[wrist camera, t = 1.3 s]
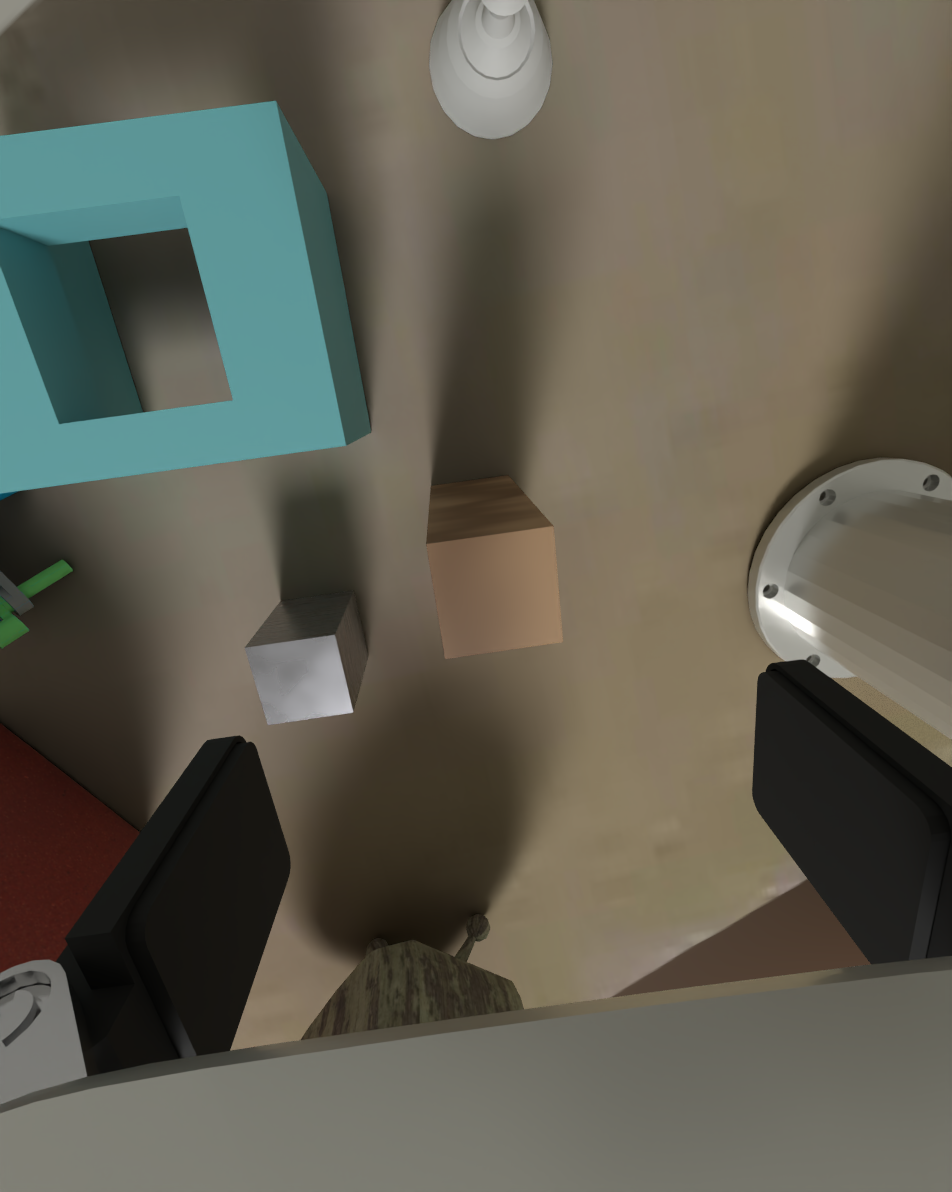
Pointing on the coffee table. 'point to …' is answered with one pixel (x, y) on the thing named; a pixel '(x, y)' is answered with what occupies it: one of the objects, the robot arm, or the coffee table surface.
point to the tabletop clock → (414, 988)
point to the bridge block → (230, 280)
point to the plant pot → (49, 852)
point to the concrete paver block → (309, 658)
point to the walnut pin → (492, 568)
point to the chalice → (490, 65)
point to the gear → (23, 596)
